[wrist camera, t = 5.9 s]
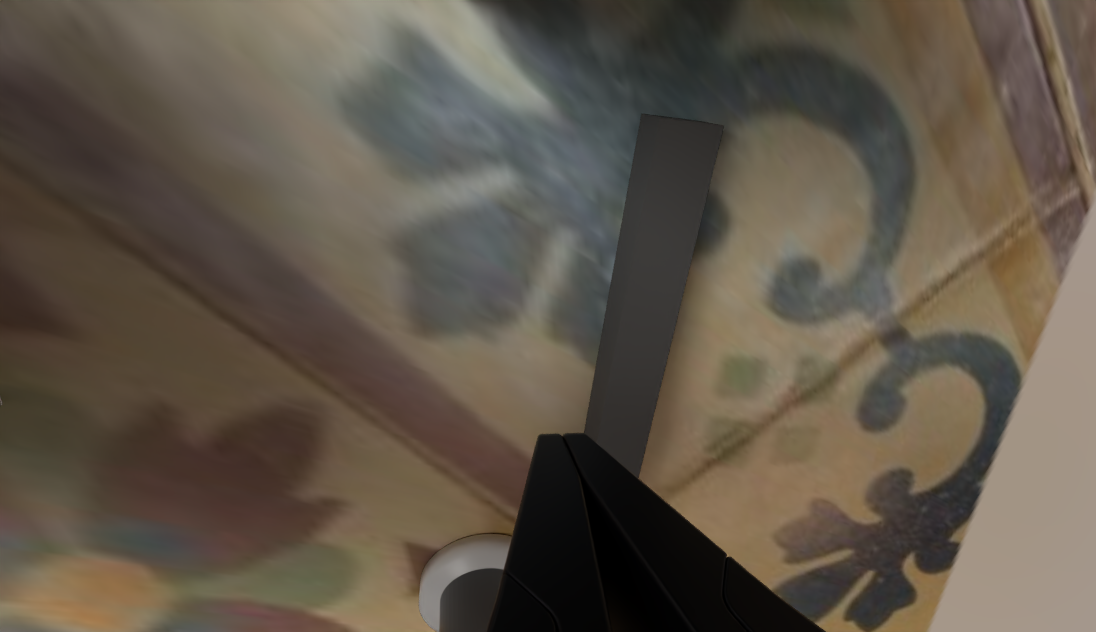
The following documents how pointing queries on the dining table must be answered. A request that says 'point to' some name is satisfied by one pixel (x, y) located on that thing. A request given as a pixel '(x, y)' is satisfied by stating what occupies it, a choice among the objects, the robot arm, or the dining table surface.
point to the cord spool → (463, 583)
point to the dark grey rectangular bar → (649, 279)
